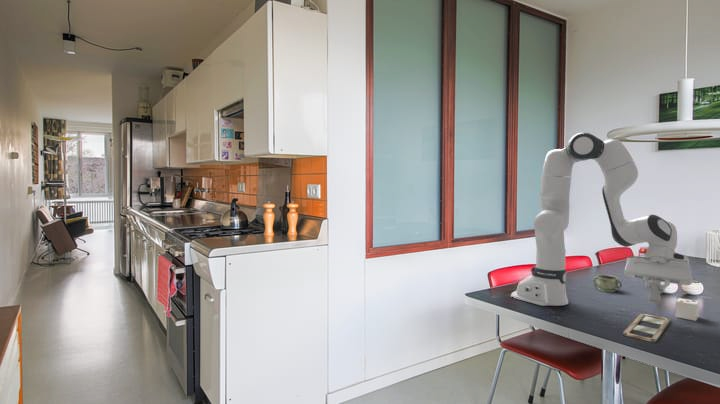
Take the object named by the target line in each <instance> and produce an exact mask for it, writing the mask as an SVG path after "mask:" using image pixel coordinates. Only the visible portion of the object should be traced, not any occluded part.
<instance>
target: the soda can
mask: <svg viewBox="0 0 720 404" xmlns="http://www.w3.org/2000/svg"><path fill="white" fill-rule="evenodd" d="M648 247H649V246H640V248H639V250H638V256H637V257H646V252H647V248H648Z"/></svg>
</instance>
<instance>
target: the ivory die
mask: <svg viewBox="0 0 720 404" xmlns="http://www.w3.org/2000/svg"><path fill="white" fill-rule="evenodd" d="M699 302H700V301H698V300H693V299H687V298H681V297H678V298H677V299H676V301H675V318H678V319H679V318H680V319H683V320H684V319H685V320H689V321H695V322H697V320H698V319H699V305H700V303H699Z"/></svg>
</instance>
